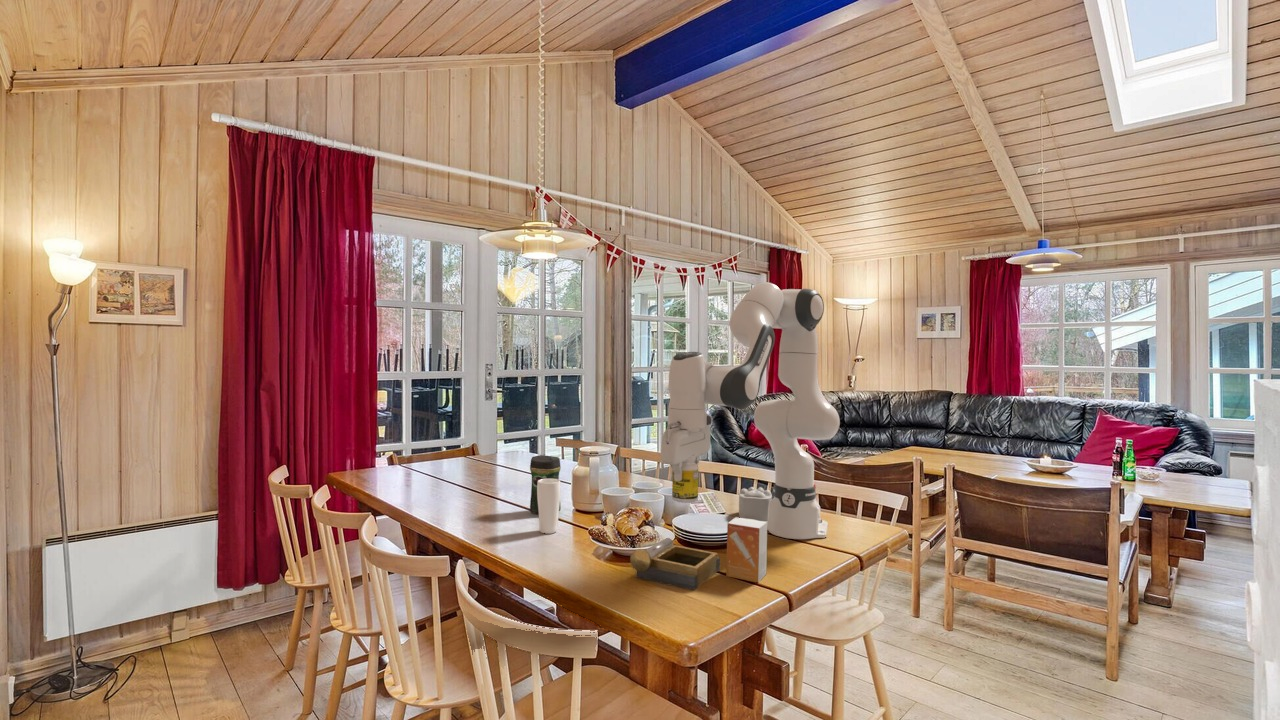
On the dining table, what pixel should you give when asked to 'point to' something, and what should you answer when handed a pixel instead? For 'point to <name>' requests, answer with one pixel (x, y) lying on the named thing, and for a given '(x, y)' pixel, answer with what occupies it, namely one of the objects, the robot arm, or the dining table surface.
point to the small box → (746, 549)
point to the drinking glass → (548, 504)
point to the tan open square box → (675, 564)
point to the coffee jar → (542, 475)
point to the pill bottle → (686, 483)
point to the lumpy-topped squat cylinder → (754, 503)
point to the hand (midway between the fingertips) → (685, 477)
